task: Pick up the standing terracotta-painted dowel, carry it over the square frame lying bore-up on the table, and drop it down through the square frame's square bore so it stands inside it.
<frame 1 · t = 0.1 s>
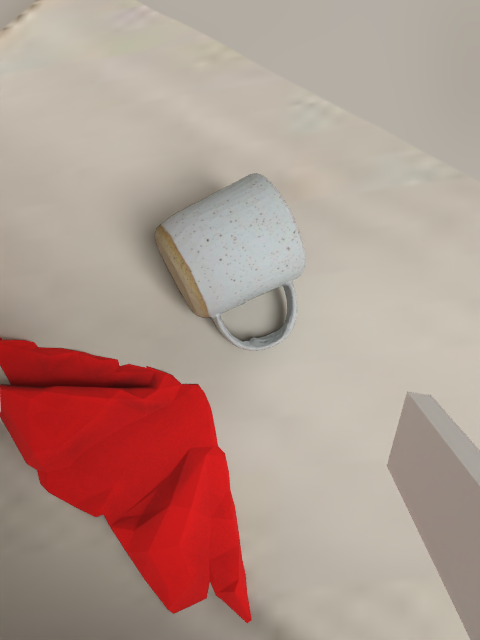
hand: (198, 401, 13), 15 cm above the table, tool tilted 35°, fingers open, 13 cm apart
cloth: (124, 453, 28), on the table
ceramic mug: (239, 287, 32), on the table
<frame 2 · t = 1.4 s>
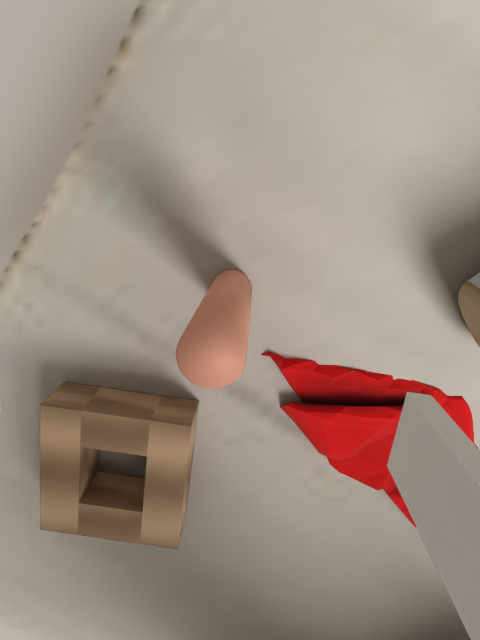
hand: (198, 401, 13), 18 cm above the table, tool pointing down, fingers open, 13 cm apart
cloth: (390, 441, 35), on the table
dowel: (231, 289, 31), on the table
square frame: (127, 450, 35), on the table
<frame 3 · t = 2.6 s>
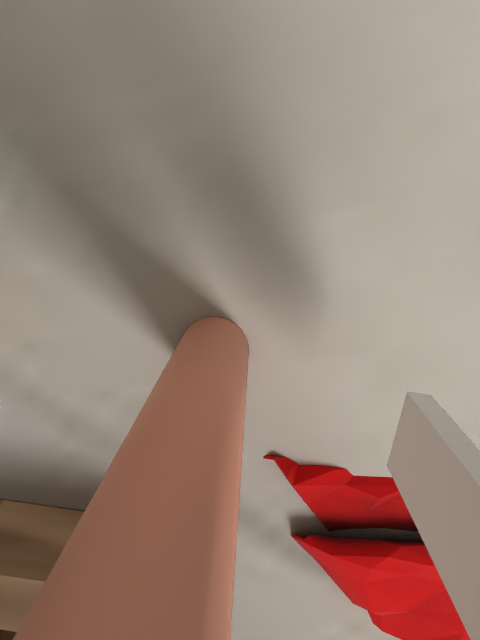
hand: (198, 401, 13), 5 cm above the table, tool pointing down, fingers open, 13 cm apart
cloth: (463, 582, 22), on the table
dowel: (214, 349, 18), on the table
square frame: (53, 591, 22), on the table
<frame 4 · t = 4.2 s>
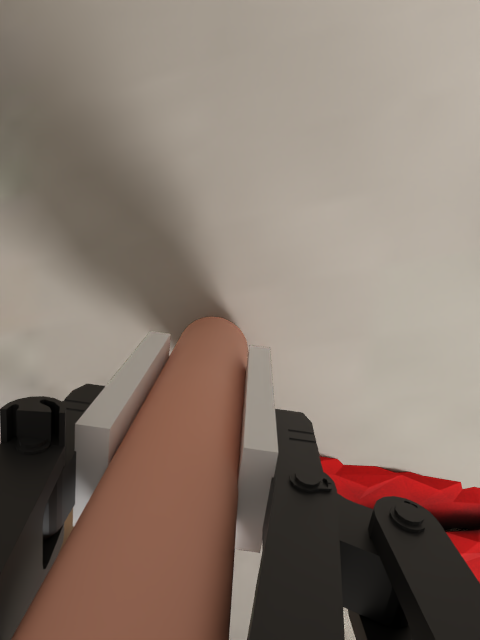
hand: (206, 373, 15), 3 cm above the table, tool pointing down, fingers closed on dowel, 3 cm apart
cloth: (449, 568, 23), on the table
dowel: (213, 350, 18), point 1 cm above the table, touching gripper
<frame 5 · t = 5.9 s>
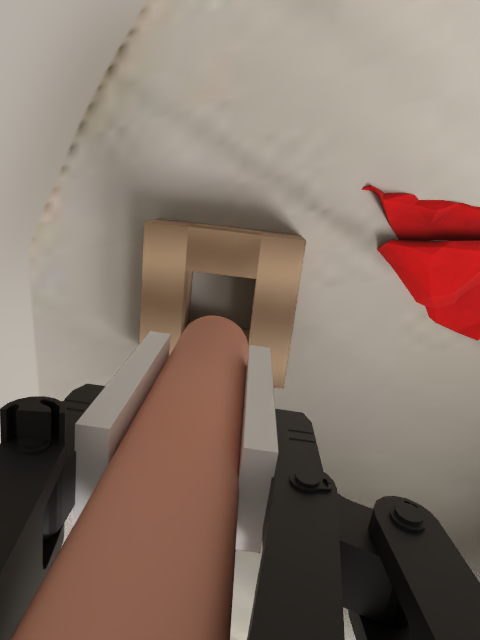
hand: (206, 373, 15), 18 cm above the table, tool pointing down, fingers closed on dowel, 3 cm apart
dowel: (213, 349, 18), point 16 cm above the table, touching gripper
square frame: (222, 296, 34), on the table
when the fingers open (5 cm above the table, at t = 8.2 s): dowel stays where it is, resting in square frame.
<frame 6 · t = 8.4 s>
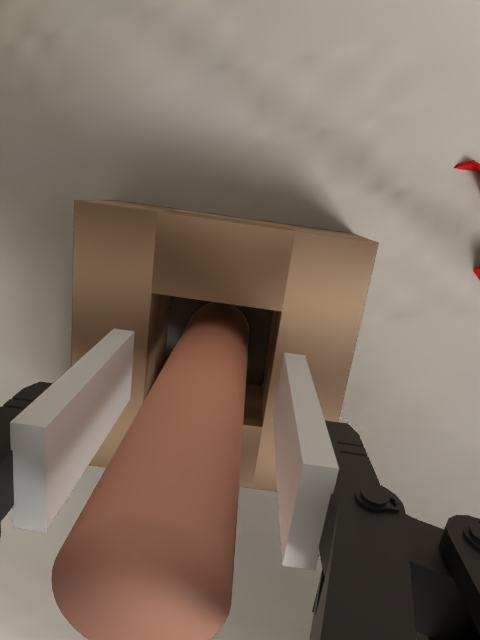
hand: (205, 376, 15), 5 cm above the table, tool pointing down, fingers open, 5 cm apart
dowel: (218, 331, 20), resting in square frame
square frame: (218, 332, 20), on the table
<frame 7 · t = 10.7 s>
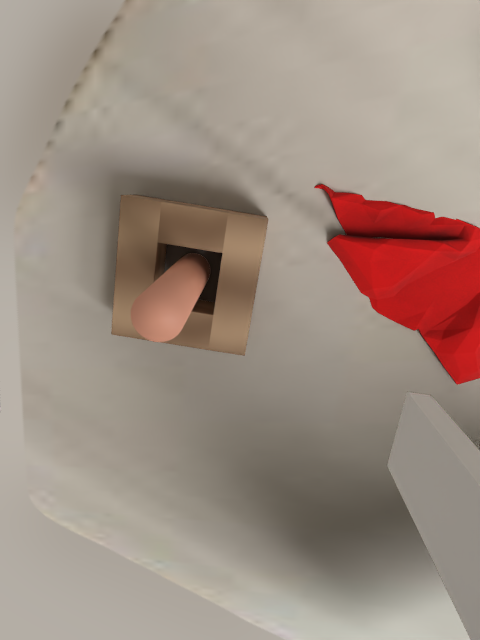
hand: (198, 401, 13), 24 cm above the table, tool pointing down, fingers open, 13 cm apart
cloth: (427, 285, 37), on the table
dowel: (193, 270, 36), resting in square frame
square frame: (193, 270, 36), on the table
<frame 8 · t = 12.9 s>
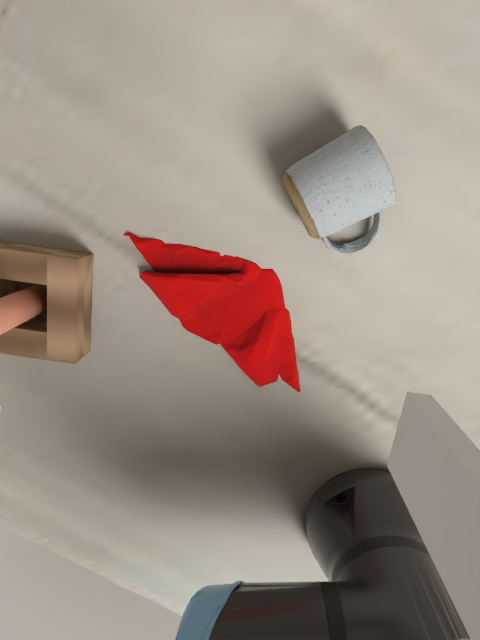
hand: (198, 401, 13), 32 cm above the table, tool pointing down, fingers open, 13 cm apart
cloth: (226, 308, 46), on the table
ceramic mug: (338, 198, 42), on the table
dowel: (42, 296, 46), resting in square frame
square frame: (42, 296, 46), on the table
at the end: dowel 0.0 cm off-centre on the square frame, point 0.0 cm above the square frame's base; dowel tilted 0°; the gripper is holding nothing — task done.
